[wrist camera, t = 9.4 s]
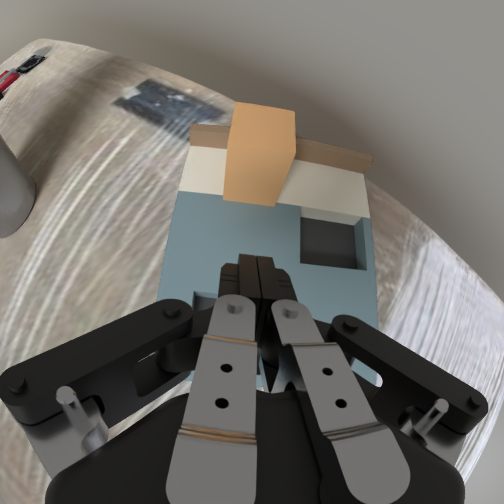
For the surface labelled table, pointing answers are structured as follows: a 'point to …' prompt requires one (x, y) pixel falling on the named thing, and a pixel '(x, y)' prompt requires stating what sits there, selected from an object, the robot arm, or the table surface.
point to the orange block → (258, 153)
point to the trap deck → (276, 231)
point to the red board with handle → (10, 76)
